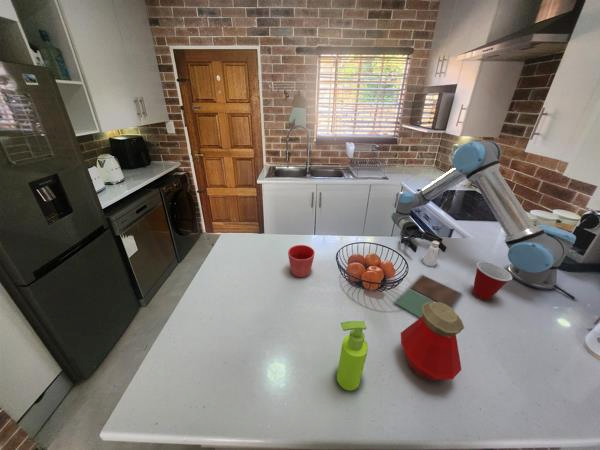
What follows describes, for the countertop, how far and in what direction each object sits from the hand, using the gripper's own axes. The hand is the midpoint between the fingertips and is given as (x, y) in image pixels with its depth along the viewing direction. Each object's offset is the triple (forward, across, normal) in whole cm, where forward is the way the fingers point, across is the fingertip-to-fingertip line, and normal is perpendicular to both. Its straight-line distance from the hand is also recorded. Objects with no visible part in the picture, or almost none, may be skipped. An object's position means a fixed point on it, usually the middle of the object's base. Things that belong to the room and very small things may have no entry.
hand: (430, 249), depth 110 cm
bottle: (+48, +27, -6) cm, 56 cm away
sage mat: (+28, +17, -6) cm, 33 cm away
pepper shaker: (+2, 0, -6) cm, 6 cm away
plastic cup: (+22, -10, -6) cm, 25 cm away
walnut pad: (+20, +8, -6) cm, 22 cm away
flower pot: (+7, +59, -6) cm, 59 cm away
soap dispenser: (+52, +50, -6) cm, 72 cm away
